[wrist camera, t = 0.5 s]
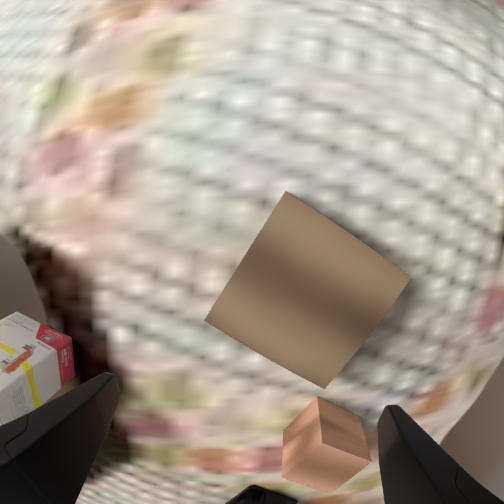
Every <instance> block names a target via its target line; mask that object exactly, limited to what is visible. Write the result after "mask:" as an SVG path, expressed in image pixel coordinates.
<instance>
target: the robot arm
mask: <svg viewBox="0 0 504 504" xmlns="http://www.w3.org/2000/svg"><path fill="white" fill-rule="evenodd" d="M119 398H120V388H119V384H118V380H117V377H116V375H114V374H111V373H108V372H104V373H102V374H100V375H98V376H96V377H94V378H92V379H91V380H89V381H87V382H85V383H83V384H81V385H80V386H78V387H76V388H74V389H72V390H70V391H68V392H67V393H65V394H63V395H61V396H59V397H57V398H55V399H54V400H52V401H50V402H48V403H46V404H44V405H42V406H40V407H38V408H36V409H35V410H33V411H31V412H29V413H27V414H25V415H23V416H21V417H19V418H17V419H15V420H13V421H10V422H8V423H6V424H3V425H1V426H0V504H75V503H76V500H77V498H78V496H79V493H80V491H81V489H82V487H83V484H84V482H85V480H86V478H87V476H88V473H89V471H90V469H91V467H92V465H93V462H94V460H95V458H96V456H97V454H98V452H99V450H100V448H101V445H102V443H103V441H104V439H105V437H106V435H107V433H108V430H109V427H110V424H111V421H112V418H113V416H114V413H115V410H116V407H117V404H118V401H119ZM377 429H378V448H379V466H380V473H381V480H382V487H383V494H384V501H385V504H504V502H503V501H502V500H500V499H499V498H498V497H496V496H495V495H494V494H492V493H491V492H490V491H489V490H487V489H486V488H484V487H483V486H482V485H481V484H480V483H478V482H477V481H476V480H475V479H474V478H473V477H471V476H470V475H469V474H468V473H467V472H466V471H465V470H464V469H463V468H462V467H461V466H459V464H458V463H457V462H456V461H455V460H454V459H453V458H452V457H450V455H448V453H447V452H445V451H444V450H443V449H442V448H441V447H440V446H439V445H438V444H437V443H436V442H435V441H434V440H433V439H432V438H431V437H430V436H429V435H428V434H427V433H426V432H425V431H424V430H423V429H422V428H421V427H420V426H419V425H418V424H417V423H416V422H415V421H414V420H413V419H412V418H411V417H410V416H409V415H408V414H407V413H406V412H405V411H404V410H403V409H402V408H401V407H400V406H398V405H387V406H386V407H385V408H384V410H383V412H382V414H381V416H380V418H379V421H378V425H377ZM225 504H297V501H296V500H294V499H291V498H287V497H284V496H281V495H278V494H276V493H273V492H270V491H267V490H264V489H262V488H259V487H256V486H249V487H247V488H246V489H245V490H243V491H242V492H241V493H239V494H238V495H237V496H235V497H234V498H233V499H231V500H230V501H228V502H227V503H225Z"/></svg>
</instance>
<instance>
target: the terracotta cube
mask: <svg viewBox="0 0 504 504" xmlns="http://www.w3.org/2000/svg"><path fill="white" fill-rule="evenodd" d="M370 462H372V461H371V457H370V453H369V449H368V445H367V442H366V438H365V434H364V431H363V427H362V423H361V420H360V416H358V415H355V414H353V413H351V412H349V411H347V410H345V409H343V408H340V407H338V406H336V405H334V404H332V403H330V402H328V401H326V400H324V399H322V398H320V397H318V396H316V397H315V399H314V400H313V401H312V402H311V403H310V404H309V405H308V406H307V407H306V408H305V409H304V410H303V411H302V412H301V413H300V414H299V415H298V416H297V417H296V418H295V419H294V420H293V421H292V422H291V423H290V424H289V425H288V426H287V427H286V428H285V429H284V431H283V458H282V477H283V478H285V479H288V480H291V481H294V482H297V483H300V484H302V485H305V486H308V487H312V488H315V489H318V490H321V491H324V492H328V493H331V492H333V491H334V490H336V489H337V488H338V487H340V486H341V485H342V484H344V483H345V482H346V481H348V480H349V479H350V478H352V477H353V476H354V475H356V474H357V473H358V472H359V471H361V470H362V469H363V468H364V467H366V466H367V465H368V464H369V463H370Z"/></svg>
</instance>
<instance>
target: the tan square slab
mask: <svg viewBox="0 0 504 504" xmlns="http://www.w3.org/2000/svg"><path fill="white" fill-rule="evenodd" d="M410 279H411V277H410V276H409V275H407V274H406V273H404V272H403V271H402V270H400V269H399V268H398V267H396V266H395V265H394V264H392V263H391V262H390V261H388V260H387V259H385V258H384V257H383V256H381V255H380V254H378V253H377V252H376V251H374V250H373V249H371V248H370V247H369V246H367V245H366V244H364V243H363V242H361V241H360V240H359V239H357V238H356V237H354V236H353V235H351V234H350V233H349V232H347V231H346V230H344V229H343V228H341V227H340V226H338V225H337V224H335V223H334V222H332V221H331V220H329V219H328V218H326V217H325V216H323V215H322V214H320V213H319V212H317V211H316V210H314V209H313V208H311V207H310V206H308V205H307V204H305V203H304V202H302V201H300V200H299V199H297V198H296V197H294V196H293V195H291V194H289V193H288V192H286V191H285V193H284V195H283V196H282V198H281V199H280V201H279V203H278V204H277V206H276V207H275V209H274V210H273V212H272V214H271V215H270V217H269V218H268V220H267V221H266V223H265V225H264V226H263V228H262V229H261V231H260V233H259V234H258V236H257V237H256V239H255V240H254V242H253V244H252V245H251V247H250V248H249V250H248V252H247V253H246V255H245V256H244V258H243V259H242V261H241V263H240V264H239V266H238V267H237V269H236V271H235V272H234V274H233V275H232V277H231V279H230V280H229V282H228V283H227V285H226V286H225V288H224V290H223V291H222V293H221V294H220V296H219V298H218V299H217V301H216V302H215V304H214V306H213V307H212V309H211V310H210V312H209V314H208V315H207V317H206V319H205V320H204V321H206V322H207V323H209V324H211V325H212V326H214V327H215V328H217V329H219V330H220V331H222V332H224V333H225V334H227V335H229V336H230V337H232V338H234V339H235V340H237V341H239V342H240V343H242V344H244V345H245V346H247V347H249V348H250V349H252V350H254V351H256V352H257V353H259V354H261V355H263V356H264V357H266V358H268V359H270V360H271V361H273V362H275V363H277V364H279V365H280V366H282V367H284V368H286V369H288V370H289V371H291V372H293V373H295V374H297V375H299V376H300V377H302V378H304V379H306V380H308V381H310V382H312V383H314V384H316V385H318V386H319V387H321V388H323V389H325V388H326V387H327V386H328V384H329V383H330V382H331V381H332V380H333V379H334V378H335V377H336V375H337V374H338V373H339V372H340V371H341V370H342V368H343V367H344V366H345V365H346V364H347V363H348V361H349V360H350V359H351V358H352V357H353V355H354V354H355V353H356V352H357V350H358V349H359V348H360V347H361V346H362V344H363V343H364V342H365V341H366V339H367V338H368V337H369V335H370V334H371V333H372V332H373V330H374V329H375V328H376V326H377V325H378V324H379V322H380V321H381V320H382V318H383V317H384V316H385V314H386V313H387V312H388V310H389V309H390V308H391V306H392V305H393V303H394V302H395V301H396V299H397V298H398V296H399V295H400V294H401V292H402V291H403V289H404V288H405V286H406V285H407V283H408V282H409V280H410Z"/></svg>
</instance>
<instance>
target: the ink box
mask: <svg viewBox="0 0 504 504" xmlns="http://www.w3.org/2000/svg"><path fill="white" fill-rule="evenodd" d="M74 376H75V370H74V359H73V347H72V338H71V337H69V336H67V335H65V334H63V333H60V332H58V331H56V330H54V329H52V328H50V327H47V326H45V325H43V324H41V323H39V322H37V321H35V320H33V319H31V318H29V317H27V316H25V315H23V314H21V313H19V312H15V313H14V314H12V315H10V316H8V317H6V318H4V319H2V320H0V426H1V425H3V424H6V423H8V422H10V421H13V420H15V419H17V418H19V417H21V416H23V415H25V414H27V413H29V412H31V411H33V410H35V409H36V408H38V407H40V406H41V405H42V404H44V403H45V402H46V401H47V400H48V399H49V398H50V397H51V396H52V395H53V394H55V393H56V392H57V391H58V390H59V389H60V388H61V387H62V386H63V385H65V384H66V383H67V382H68V381H69V380H70V379H71V378H72V377H74Z"/></svg>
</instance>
